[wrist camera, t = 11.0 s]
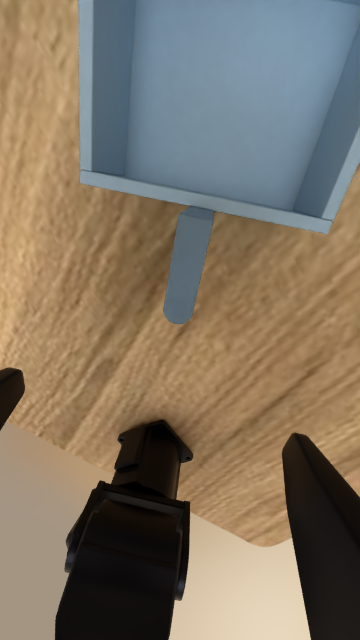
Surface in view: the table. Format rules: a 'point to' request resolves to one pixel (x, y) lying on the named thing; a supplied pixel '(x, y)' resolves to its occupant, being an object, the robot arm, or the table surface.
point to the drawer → (221, 113)
